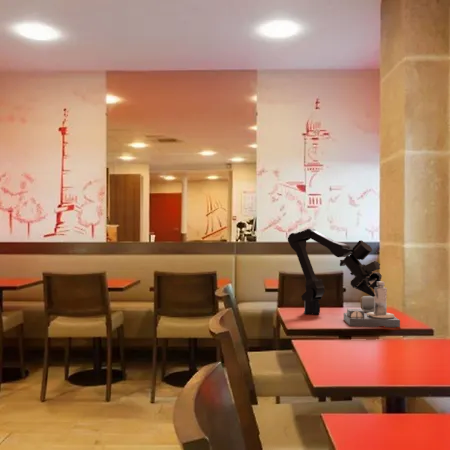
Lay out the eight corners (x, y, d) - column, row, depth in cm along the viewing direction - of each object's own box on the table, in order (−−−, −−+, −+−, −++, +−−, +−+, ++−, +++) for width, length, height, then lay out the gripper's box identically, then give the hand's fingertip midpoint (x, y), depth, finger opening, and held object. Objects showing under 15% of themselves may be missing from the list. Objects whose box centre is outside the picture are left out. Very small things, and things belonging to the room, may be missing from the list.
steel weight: (372, 314, 210) (373, 281, 210) (375, 312, 214) (375, 281, 214) (385, 315, 207) (385, 282, 208) (387, 313, 212) (387, 281, 212)
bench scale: (349, 326, 204) (349, 312, 204) (343, 319, 219) (343, 306, 219) (400, 327, 203) (400, 313, 203) (390, 321, 218) (390, 308, 218)
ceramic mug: (362, 309, 250) (362, 293, 250) (379, 310, 247) (379, 294, 247) (359, 312, 240) (359, 296, 240) (376, 314, 237) (377, 297, 237)
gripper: (357, 255, 208) (382, 284, 201) (377, 254, 222) (401, 281, 214) (340, 272, 213) (363, 301, 206) (361, 270, 227) (383, 297, 220)
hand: (379, 295), depth 211 cm, fingers open, 9 cm apart
